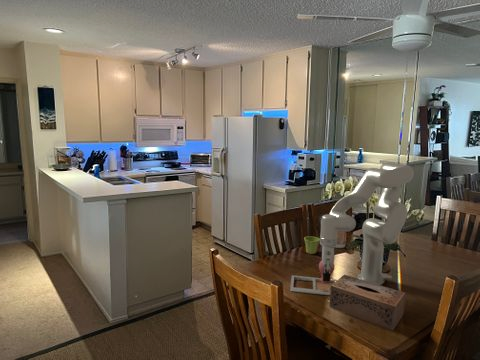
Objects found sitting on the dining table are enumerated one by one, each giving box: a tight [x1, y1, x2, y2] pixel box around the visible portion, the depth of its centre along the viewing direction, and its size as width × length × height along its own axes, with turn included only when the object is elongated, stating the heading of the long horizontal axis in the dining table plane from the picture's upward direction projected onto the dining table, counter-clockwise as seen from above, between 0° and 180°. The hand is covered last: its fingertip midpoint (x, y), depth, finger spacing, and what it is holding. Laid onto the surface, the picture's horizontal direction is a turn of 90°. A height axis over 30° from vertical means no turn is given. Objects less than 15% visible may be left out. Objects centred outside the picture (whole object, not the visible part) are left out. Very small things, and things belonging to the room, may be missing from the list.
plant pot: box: [303, 236, 320, 255], centre depth 208 cm, size 9×9×9 cm
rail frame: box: [290, 275, 338, 296], centre depth 163 cm, size 22×14×2 cm, turn 79°
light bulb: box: [318, 260, 335, 284], centre depth 161 cm, size 7×7×12 cm
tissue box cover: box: [329, 274, 406, 331], centre depth 142 cm, size 26×14×10 cm, turn 51°
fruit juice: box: [334, 212, 347, 249], centre depth 218 cm, size 9×9×28 cm
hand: (325, 277), depth 162 cm, fingers closed on light bulb, 6 cm apart
